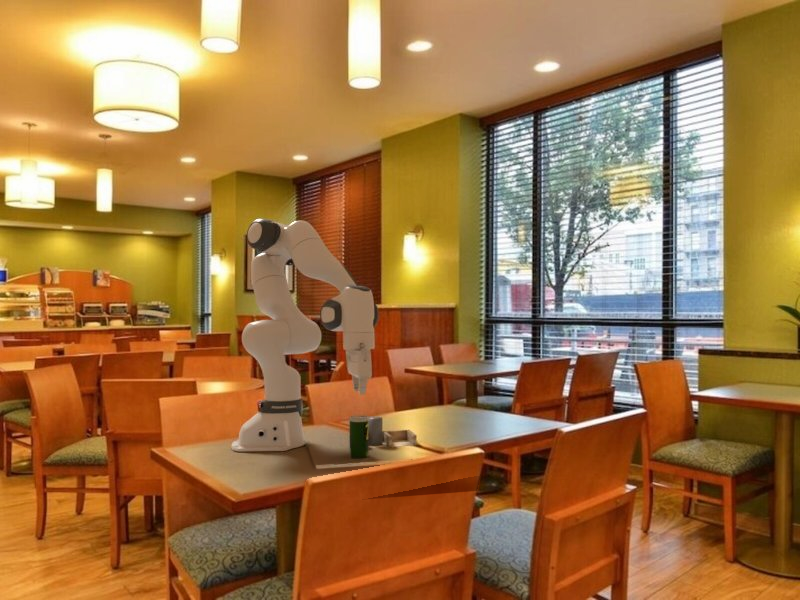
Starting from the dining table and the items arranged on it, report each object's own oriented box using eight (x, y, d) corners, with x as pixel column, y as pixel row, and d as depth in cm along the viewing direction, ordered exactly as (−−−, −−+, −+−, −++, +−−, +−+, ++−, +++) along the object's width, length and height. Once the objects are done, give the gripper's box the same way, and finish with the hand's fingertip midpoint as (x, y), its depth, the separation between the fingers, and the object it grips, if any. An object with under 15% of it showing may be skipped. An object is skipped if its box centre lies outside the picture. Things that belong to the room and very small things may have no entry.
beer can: (350, 462, 163) (350, 418, 163) (348, 458, 168) (348, 415, 168) (370, 461, 164) (370, 417, 164) (366, 457, 169) (366, 414, 170)
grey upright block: (368, 446, 179) (368, 419, 179) (366, 443, 183) (366, 416, 183) (383, 445, 180) (383, 418, 180) (380, 442, 184) (380, 416, 184)
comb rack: (363, 451, 176) (363, 438, 176) (358, 445, 185) (358, 432, 185) (416, 448, 180) (416, 435, 180) (409, 442, 188) (409, 429, 189)
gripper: (377, 343, 158) (377, 396, 157) (363, 341, 177) (364, 388, 177) (353, 344, 156) (354, 397, 155) (342, 342, 176) (343, 389, 175)
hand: (359, 392), depth 166 cm, fingers open, 8 cm apart
